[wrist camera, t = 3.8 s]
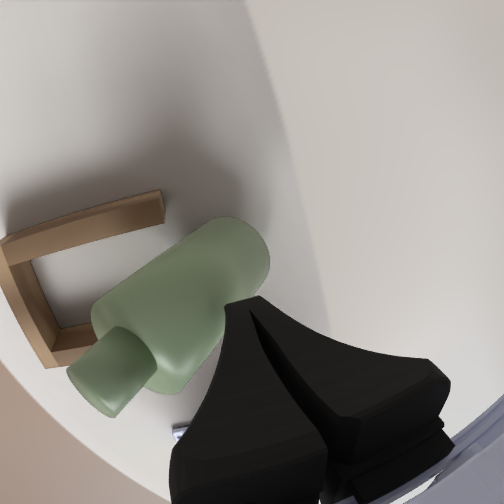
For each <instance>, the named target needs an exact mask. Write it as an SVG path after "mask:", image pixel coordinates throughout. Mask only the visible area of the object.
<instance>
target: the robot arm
mask: <svg viewBox="0 0 504 504" xmlns="http://www.w3.org/2000/svg"><path fill="white" fill-rule="evenodd" d="M224 311H225V330H224V338H223V344H222V348H221V353H220V357H219V361H218V364H217V368H216V371H215V374H214V377H213V379H212V382H211V384H210V387H209V389H208V391H207V394H206V396H205V398H204V400H203V402H202V404H201V406H200V407H199V409H198V411H197V413H196V415H195V416H194V418H193V420H192V422H191V423H190V425H189V426H188V427H183V428H178V429H174V430H173V431H172V434H173V437H174V438H175V440H176V441H177V443H176V445H175V446H174V447H173V449H172V453H171V459H170V467H169V489H170V496H171V503H172V504H318V503H319V499H320V502H321V504H389V503H391V502H393V501H395V500H397V499H398V498H400V497H402V496H404V495H405V494H407V493H409V492H410V491H412V490H414V489H415V488H417V487H418V486H420V485H422V484H423V483H424V482H426V481H428V480H429V479H431V478H432V477H434V476H435V475H437V474H438V473H439V472H440V473H439V474H438V475H437V476H436V477H435V479H434V481H433V482H432V483H431V485H430V486H429V487H428V488H427V489H426V490H425V491H424V492H422V493H420V494H419V495H417V496H415V497H414V498H412V499H410V500H408V501H407V502H405V503H403V504H504V394H503V395H502V396H501V397H500V398H499V399H498V400H497V401H496V402H495V403H494V404H492V405H491V406H490V407H489V408H488V409H487V410H486V411H485V412H483V413H482V414H481V415H480V416H479V417H478V418H476V419H475V420H474V421H473V422H472V423H470V424H469V425H468V426H467V427H465V428H464V429H463V430H461V431H460V432H459V433H458V434H456V435H455V436H454V437H452V438H451V439H450V438H449V437H448V436H447V435H446V433H445V432H444V431H443V430H442V428H443V427H444V422H443V421H442V420H441V419H440V418H439V414H440V412H441V410H442V408H443V406H444V404H445V402H446V400H447V398H448V395H449V392H450V386H451V382H450V380H449V379H448V377H447V376H446V375H445V374H444V373H443V372H442V371H441V370H440V369H438V367H437V366H436V365H434V364H433V363H432V362H431V361H430V360H429V359H422V358H410V357H399V356H392V355H387V354H381V353H376V352H372V351H367V350H364V349H360V348H356V347H354V346H350V345H347V344H344V343H341V342H338V341H336V340H334V339H331V338H329V337H326V336H324V335H322V334H319V333H317V332H315V331H313V330H311V329H310V328H308V327H306V326H304V325H302V324H301V323H299V322H297V321H296V320H294V319H293V318H291V317H289V316H288V315H286V314H285V313H283V312H282V311H280V310H279V309H278V308H276V307H275V306H273V305H272V304H271V303H269V302H268V301H267V300H265V299H264V298H263V297H261V296H255V297H252V298H248V299H244V300H240V301H236V302H232V303H228V304H226V305H225V306H224ZM442 470H443V471H442ZM441 471H442V472H441Z"/></svg>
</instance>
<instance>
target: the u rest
mask: <svg viewBox="0 0 504 504" xmlns="http://www.w3.org/2000/svg"><path fill="white" fill-rule="evenodd" d="M164 220H165V207H164V203H163V198H162V194H161V189H160V190H156V191H151V192H147V193H143V194H140V195H136V196H132V197H128V198H124V199H121V200H117V201H113V202H110V203H106V204H103V205H99V206H96V207H92V208H89V209H85V210H82V211H79V212H75V213H72V214H69V215H66V216H63V217H60V218H56V219H53V220H50V221H47V222H44V223H41V224H38V225H36V226H33V227H30V228H27V229H24V230H21V231H19V232H16V233H13V234H10V235H8V236H5V237H4V238H3V239H1V240H0V286H1V288H2V290H3V293H4V295H5V297H6V299H7V301H8V303H9V305H10V307H11V309H12V311H13V313H14V315H15V317H16V319H17V321H18V323H19V325H20V327H21V329H22V331H23V332H24V334H25V336H26V338H27V339H28V341H29V343H30V345H31V346H32V348H33V350H34V351H35V353H36V355H37V356H38V358H39V360H40V361H41V363H42V364H43V366H44V367H45V369H48V368H56V367H63V366H70V365H71V364H72V363H74V362H75V361H76V360H77V359H78V358H79V357H80V356H81V355H82V354H84V353H85V352H86V351H87V350H88V349H89V348H90V347H92V346H93V345H94V344H95V343H96V342H97V341H98V338H97V336H96V334H95V332H94V329H93V326H92V323H89V324H84V325H79V326H74V327H69V328H64V329H60V327H59V325H58V323H57V321H56V319H55V317H54V315H53V313H52V311H51V309H50V307H49V305H48V303H47V301H46V298H45V296H44V294H43V292H42V289H41V287H40V285H39V282H38V280H37V278H36V275H35V273H34V270H33V268H32V265H31V262H30V260H31V259H34V258H37V257H41V256H44V255H47V254H51V253H54V252H57V251H61V250H64V249H68V248H71V247H75V246H78V245H82V244H86V243H89V242H93V241H97V240H100V239H104V238H108V237H111V236H115V235H119V234H123V233H127V232H131V231H135V230H139V229H142V228H146V227H151V226H155V225H159V224H163V223H164Z"/></svg>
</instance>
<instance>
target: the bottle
mask: <svg viewBox="0 0 504 504" xmlns="http://www.w3.org/2000/svg"><path fill="white" fill-rule="evenodd" d="M269 268H270V256H269V252H268V249H267V246H266V244H265V242H264V240H263V239H262V237H261V236H260V235H259V233H258V232H257V231H256V230H255V229H254V228H253V227H251V226H250V225H249V224H247V223H245V222H244V221H242V220H239V219H236V218H232V217H218V218H214V219H212V220H210V221H208V222H207V223H205V224H204V225H202V226H201V227H200V228H198V229H197V230H195V231H194V232H192V233H191V234H189V235H188V236H186V237H185V238H183V239H182V240H180V241H179V242H178V243H176V244H175V245H173V246H172V247H170V248H169V249H167V250H166V251H165V252H163V253H162V254H160V255H159V256H157V257H156V258H155V259H153V260H152V261H150V262H149V263H148V264H146V265H145V266H143V267H142V268H141V269H139V270H138V271H136V272H135V273H134V274H132V275H131V276H130V277H128V278H127V279H125V280H124V281H123V282H121V283H120V284H119V285H117V286H116V287H115V288H113V289H112V290H111V291H109V292H108V293H106V294H105V295H104V296H102V297H101V298H100V299H99V300H97V301H96V302H95V303H94V304H93V306H92V308H91V322H92V326H93V329H94V332H95V334H96V336H97V338H98V341H97V342H96V343H95V344H94V345H93V346H92V347H90V348H89V349H88V350H87V351H86V352H85V353H84V354H82V355H81V356H80V357H79V358H78V359H77V360H76V361H75V362H74V363H72V364H71V365H70V366H69V367H68V368H67V369H66V371H67V374H68V377H69V379H70V380H71V382H72V383H73V385H74V386H75V388H76V389H77V390H78V391H79V393H80V394H81V395H82V396H83V397H84V398H85V399H86V400H87V401H88V402H89V403H90V404H91V405H92V406H93V407H94V408H96V409H97V410H98V411H100V412H101V413H102V414H104V415H106V416H108V417H110V418H115V417H116V416H117V415H118V414H119V413H120V412H121V411H122V409H123V408H124V407H125V406H126V405H127V404H128V403H129V402H130V401H131V399H132V398H133V397H134V396H135V395H136V394H137V393H138V392H139V390H140V389H141V388H142V387H145V388H147V389H149V390H151V391H153V392H156V393H159V394H164V395H174V394H177V393H179V392H180V391H181V390H182V389H183V388H184V386H185V385H186V384H187V382H188V381H189V380H190V379H191V377H192V376H193V375H194V373H195V372H196V371H197V369H198V368H199V367H200V366H201V364H202V363H203V362H204V360H205V359H206V358H207V356H208V355H209V354H210V353H211V351H212V350H213V349H214V347H215V346H216V345H217V343H218V342H219V341H220V339H221V338H222V337H223V335H224V330H225V311H224V306H225V305H226V304H228V303H232V302H236V301H240V300H244V299H248V298H252V296H253V295H254V294H255V292H256V291H257V290H258V288H259V287H260V286H261V284H262V283H263V281H264V280H265V279H266V277H267V275H268V272H269Z"/></svg>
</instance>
